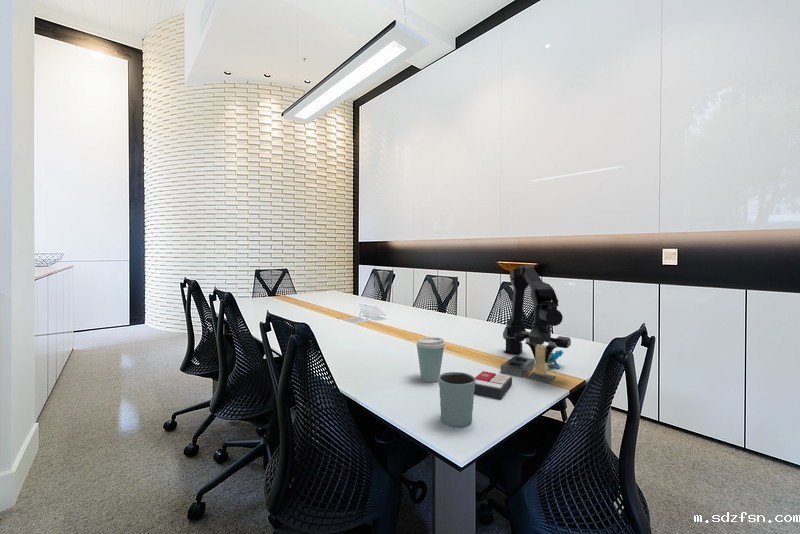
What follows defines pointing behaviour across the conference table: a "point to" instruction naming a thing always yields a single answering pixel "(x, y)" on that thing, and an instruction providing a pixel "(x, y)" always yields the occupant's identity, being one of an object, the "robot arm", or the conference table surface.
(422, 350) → the disposable coffee cup
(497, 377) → the calculator
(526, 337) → the robot arm
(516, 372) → the grey cinder block
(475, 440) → the conference table surface
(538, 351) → the brass peg
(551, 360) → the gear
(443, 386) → the green tumbler cup
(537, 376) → the rubber pad
